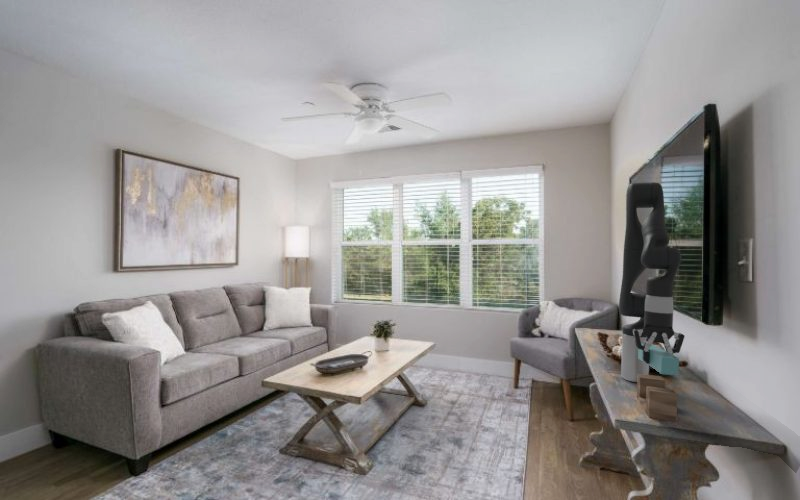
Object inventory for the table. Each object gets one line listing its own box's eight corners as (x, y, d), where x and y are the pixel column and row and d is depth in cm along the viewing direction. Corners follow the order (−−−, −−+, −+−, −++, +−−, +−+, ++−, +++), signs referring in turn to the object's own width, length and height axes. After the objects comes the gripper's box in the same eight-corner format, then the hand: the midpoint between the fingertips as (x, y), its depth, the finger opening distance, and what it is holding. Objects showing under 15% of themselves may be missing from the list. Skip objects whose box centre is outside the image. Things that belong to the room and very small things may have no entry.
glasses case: (637, 358, 133) (638, 343, 133) (653, 359, 132) (653, 344, 132) (661, 373, 116) (661, 357, 116) (678, 375, 115) (679, 358, 115)
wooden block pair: (636, 397, 133) (637, 373, 133) (660, 400, 131) (661, 376, 131) (648, 417, 117) (649, 390, 117) (676, 421, 115) (677, 394, 115)
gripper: (681, 310, 125) (679, 363, 125) (630, 306, 130) (628, 358, 130) (689, 314, 118) (687, 370, 118) (635, 310, 123) (633, 364, 123)
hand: (656, 363), depth 124 cm, fingers closed on glasses case, 5 cm apart
